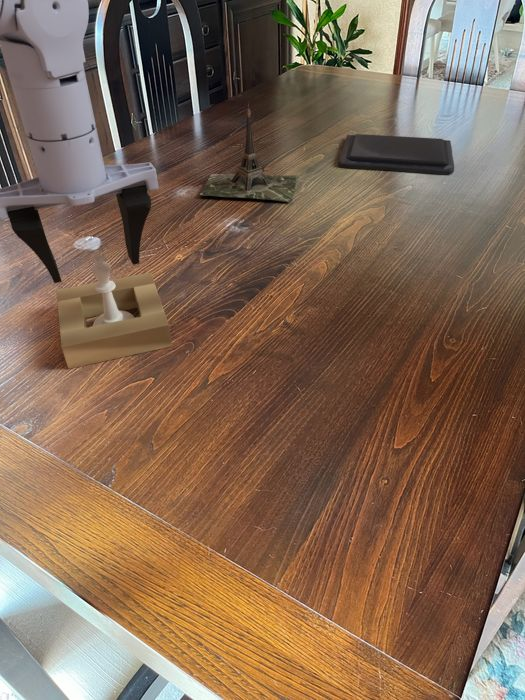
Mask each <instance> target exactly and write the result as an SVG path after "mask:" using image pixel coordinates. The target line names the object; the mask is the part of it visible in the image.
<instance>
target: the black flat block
mask: <svg viewBox="0 0 525 700" xmlns="http://www.w3.org/2000/svg"><path fill="white" fill-rule="evenodd" d="M451 142H452V141H451V140H449V139H446V140H445V139H443V138H436V137H435V138H434V137H419V136H417V137H415V136H402V135H401V136H400V135H381V134H364V133H363V134H362V133H356V134H347V135H346V137H345V139H344V141H343V144H342V147H341V150H340V153H339V156H338V160H337V166H338V167H339V168H342V169H343V168H344V169H353V170H370V171H371V170H372V171H387V172H404V173H415V174H416V173H417V174H428V175H429V174H432V175H448V176H449V175H451V174H453V173H454V172H455V162H454V157H453V149H452V148H453V147H452V143H451Z"/></svg>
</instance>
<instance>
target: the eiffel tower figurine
mask: <svg viewBox="0 0 525 700" xmlns="http://www.w3.org/2000/svg"><path fill="white" fill-rule="evenodd" d="M249 104H250V103H247V109H246V111H245V115H246V128H245V129H246V130H245V131H246V134H245V146H244V152H243V158H242V161H241V163H240V165H239V166H238V167H237V168H238V170H237V171H236V173H211V174H210V175H209V178H208V179H207V181H206V183H205V185H204V186H203V188H202V190H201V192H200V193H199V196H205V197H207V196H209V197H220V198H237V199H238V198H241V199H256V200H268V201H278V202H287V203H291V202H292V201H293V196H294V192H295V186H296V182H297V177H298V175H297V174H295V175H294V174H293V175H290V174H289V175H271V174H265V173H264V171H263V167H262V166H261V165H260V164H259V161H258V158H257V153H256V151H255V146H254V139H253V129H252V120H251V119H252V118H251V117H252V116H251V115H252V111H251V109H250V108H249V107H250V106H249Z"/></svg>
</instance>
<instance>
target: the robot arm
mask: <svg viewBox="0 0 525 700" xmlns="http://www.w3.org/2000/svg"><path fill="white" fill-rule="evenodd" d="M89 16H90V9H89V1H88V0H0V50H1V54H2V57H3V61H4V64H5V68H6V71H7V75H8V78H9V82H10V85H11V89H12V92H13V95H14V100H15V102H16V105H17V110H18V113H19V116H20V119H21V123H22V126H23V130H24V133H25V136H26V137H25V138H26V141H27V143H28V147H29V150H30V153H31V157H32V161H33V164H34V168H35V171H36V174H37V177H33V178H30V179H26V180H24V181H21V182H18V183H15V184H11V185H8V186H5V187H2V188H0V221H1V220H7V219H9V222H10V227H11V230H12V231H13V232H14V234H15V235H16V236H17V238H19V239H20V240H21V241H22V242H24V244H25V245H26V246H28V247H29V248H30V249H31V250H32V252H33V253H34V254H35V255H36V256H37V258H38V259H39V260H40V261H41V262H42V264H43V266H44V267H45V268H46V270H47V272H48V273H49V275H50V277H51V279H52V281H53V283H54V284H57V283H62V282H63V281H62V278H61V275H60V271H59V268H58V265H57V262H56V259H55V257H54V254H53V251H52V249H51V247H50V244H49V241H48V240H47V236H46V232H45V230H44V226H43V223H42V220H41V216H40V212H39V210H41V209H47V208H52V207H56V206H61V205H62V206H63V205H68V204H69V205H70V206H72V207H79V206H83V205H88V204H89V205H90V204H92V203H94V202H95V199H98V198H103V197H104V198H105V197H108V196H113V195H115V197H116V201H117V205H118V209H119V212H120V217H121V221H122V226H123V235H124V242H125V248H126V253H127V257H128V258H129V259H130V262H131V265H133V266H134V265H140V252H141V251H140V250H141V241H142V235H143V232H144V228H145V224H146V221H147V219H148V216H149V213H150V211H151V209H152V199H151V196H150V195H149V192H148V191H155V190H159V182H158V175H157V169H156V168H155V166H154V165H153V163H152V162H150V161H147V162H141V163H131V164H110V165H105V161H104V157H103V153H102V147H101V143H100V138H99V134H98V128H97V123H96V119H95V114H94V110H93V103H92V100H91V96H90V91H89V86H88V81H87V76H86V71H85V66H84V63H86V61H87V59H86V56H85V51H84V39H85V36H86V35H85V34H86V32H87V30H88V25H89V19H90V18H89Z"/></svg>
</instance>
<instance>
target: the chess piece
mask: <svg viewBox="0 0 525 700" xmlns="http://www.w3.org/2000/svg"><path fill="white" fill-rule="evenodd" d="M89 256H90V260H94V261H96V263H95V264H93V265H92V266H91V268H90V270H91V273H92V274H93V275H94V277H95V278H96V280H97V282H98V283H97V284H96V287H95V289H96V291H97V292H100V293H102V296H103V305H104V314H102V315H99V316H97V317H96V318H95V319H94V321H93V323H92V326H97V325H102V324H107V323H112V322H117V321H122V320H127V319H131V318H136V316H134V315H133V314H132V313H131V312H129V311H127V310H124V311H119V310H118V308H117V305H116V303H115V300H114V298H113V295H112V292H111V291H112V290H114V289H115V287H116V285H115V283H114V282H113V281H111V280H112V279H110V278H111V270H112V266H111V264H110V263H109V262H107V261H108V258H107V256H105V255H102V253H101V250H100V249H97V248H96V249H94V251H93V253H91V254H90V255H89Z"/></svg>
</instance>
